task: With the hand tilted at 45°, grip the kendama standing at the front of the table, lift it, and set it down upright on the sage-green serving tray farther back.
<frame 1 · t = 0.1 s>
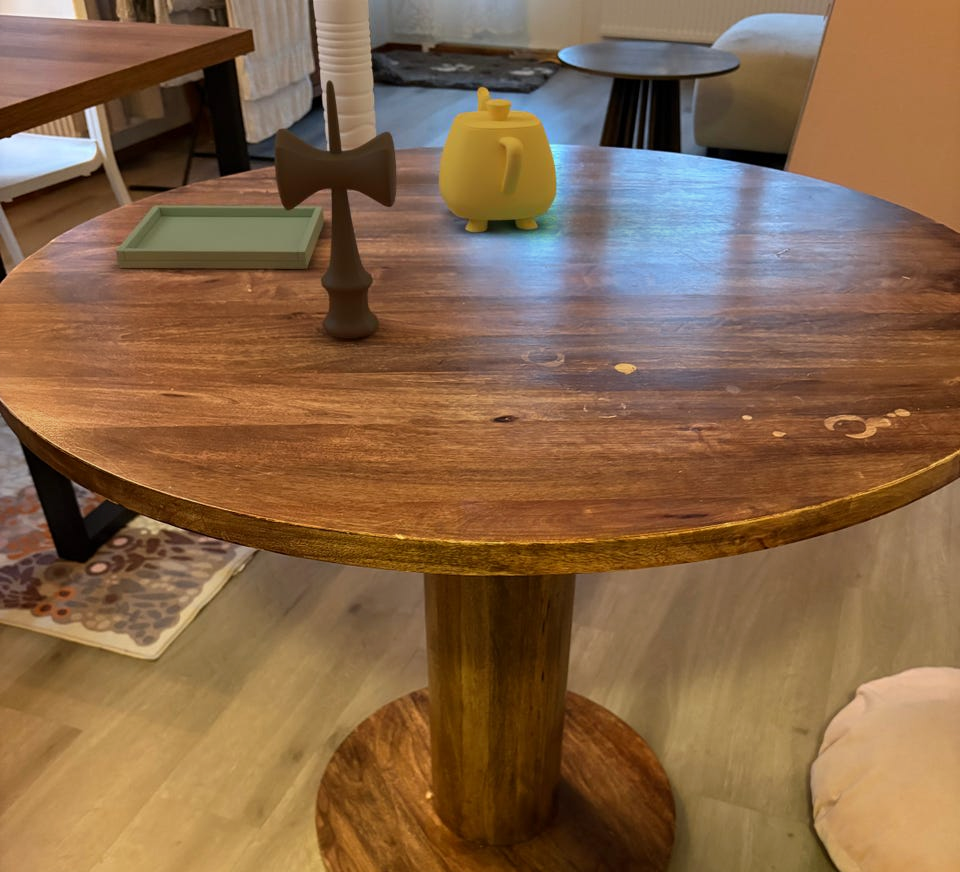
serving tray: (228, 243, 102), on the table
teapot: (495, 219, 110), on the table
kendama: (351, 334, 84), on the table
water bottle: (355, 185, 120), on the table
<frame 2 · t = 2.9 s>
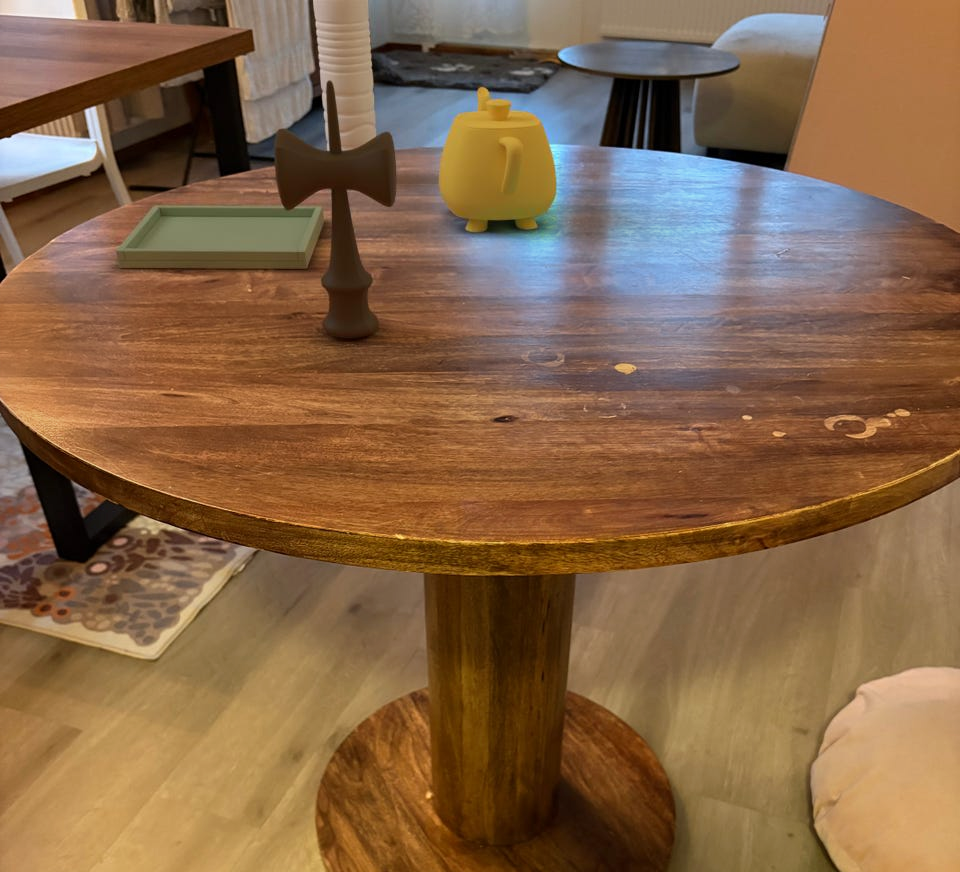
nothing on the table moved.
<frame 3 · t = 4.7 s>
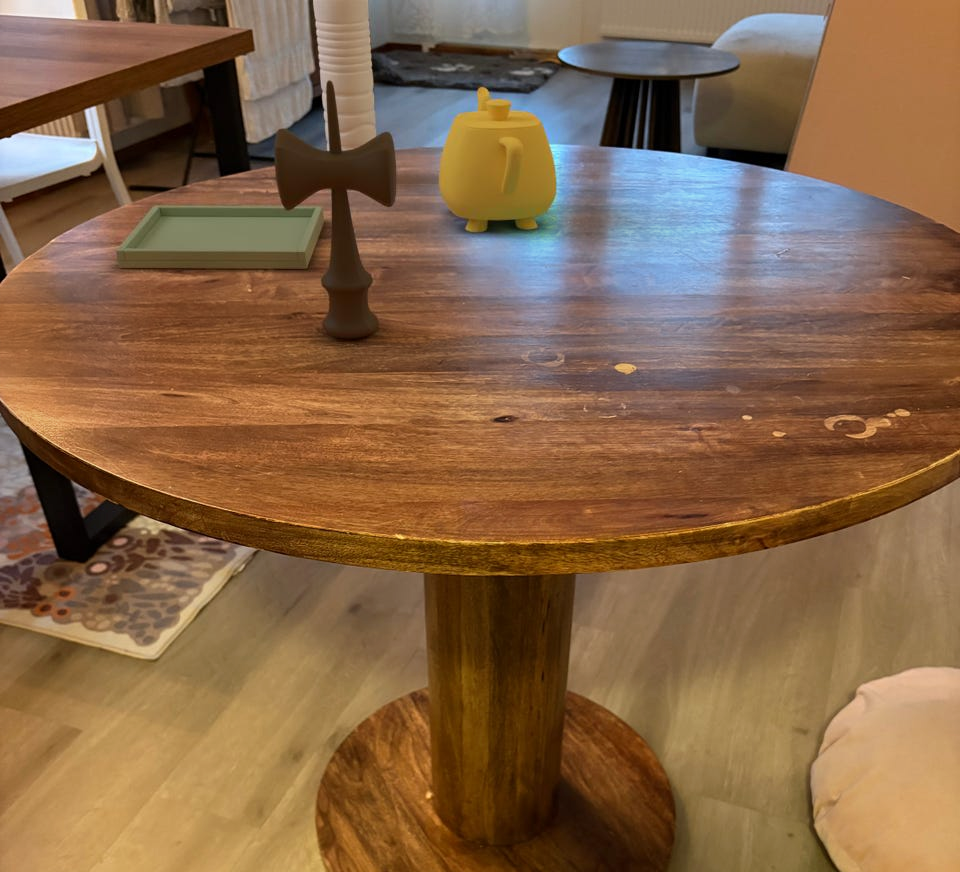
nothing on the table moved.
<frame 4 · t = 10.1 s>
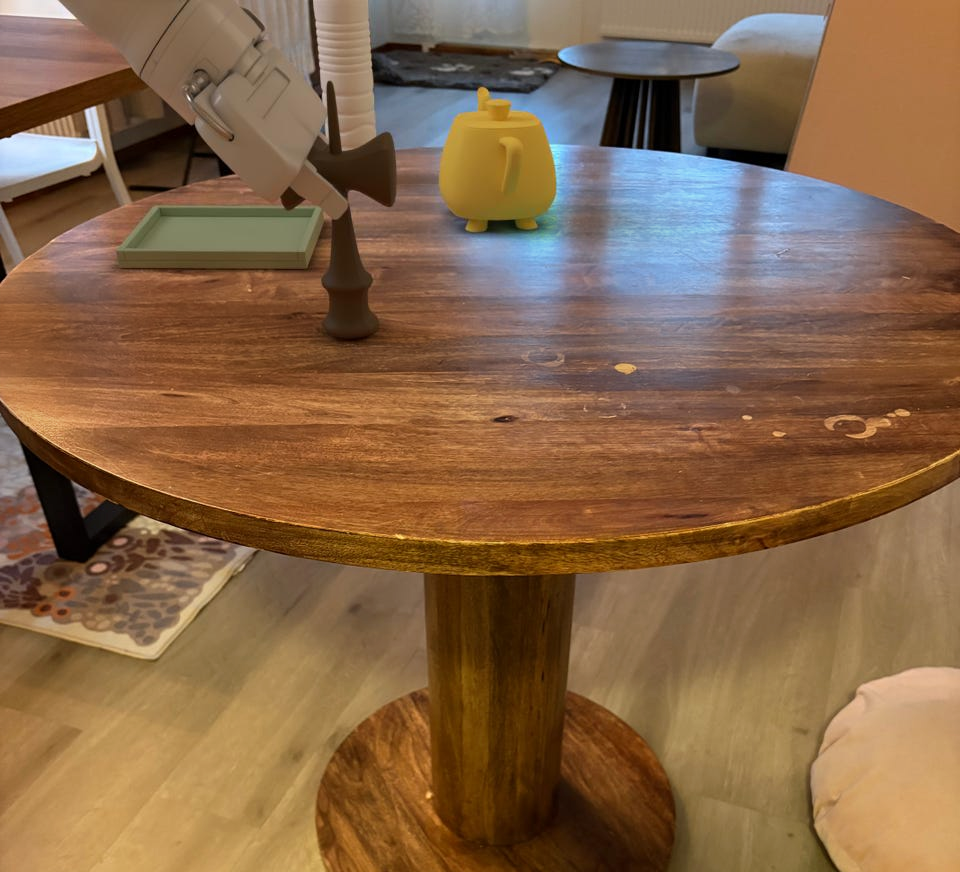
hand: (347, 199, 76), 11 cm above the table, tool tilted 45°, fingers closed on kendama, 5 cm apart
kendama: (351, 334, 84), on the table, touching gripper
everything else where it was.
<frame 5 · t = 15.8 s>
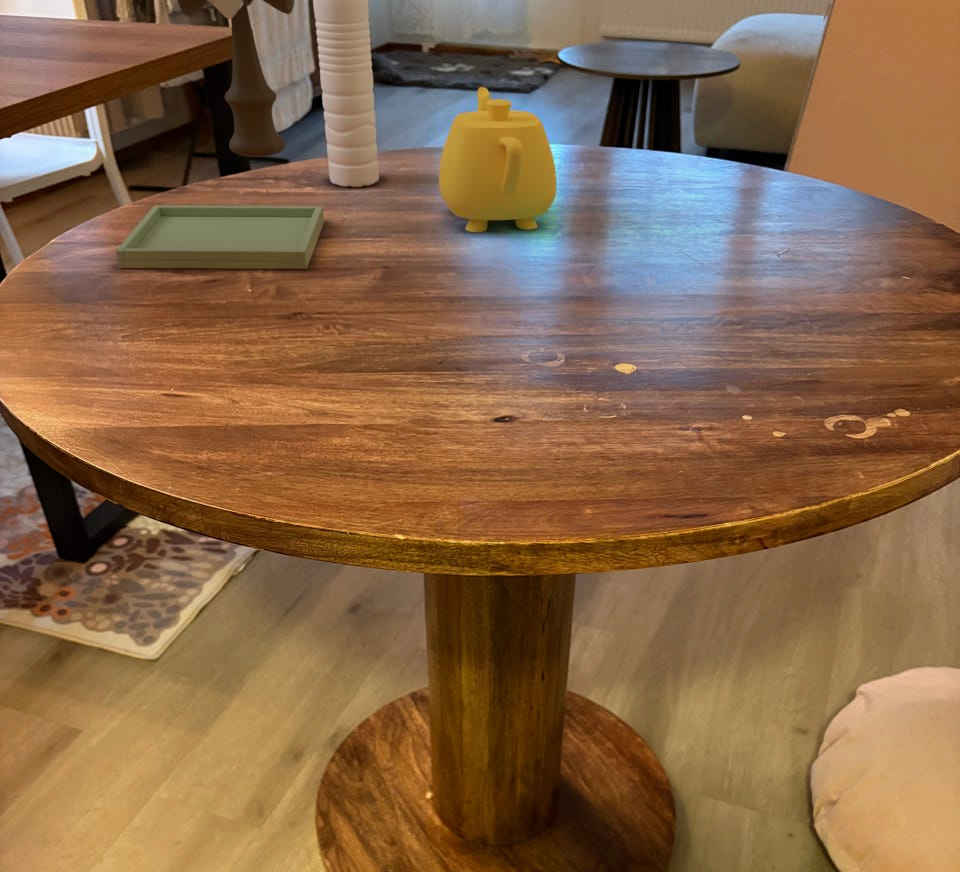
hand: (246, 5, 78), 23 cm above the table, tool tilted 45°, fingers closed on kendama, 5 cm apart
kendama: (258, 156, 85), point 12 cm above the table, touching gripper
everything else where it was.
when the fingers open (12 cm above the table, at t = 21.4 s): kendama stays where it is, resting on serving tray.
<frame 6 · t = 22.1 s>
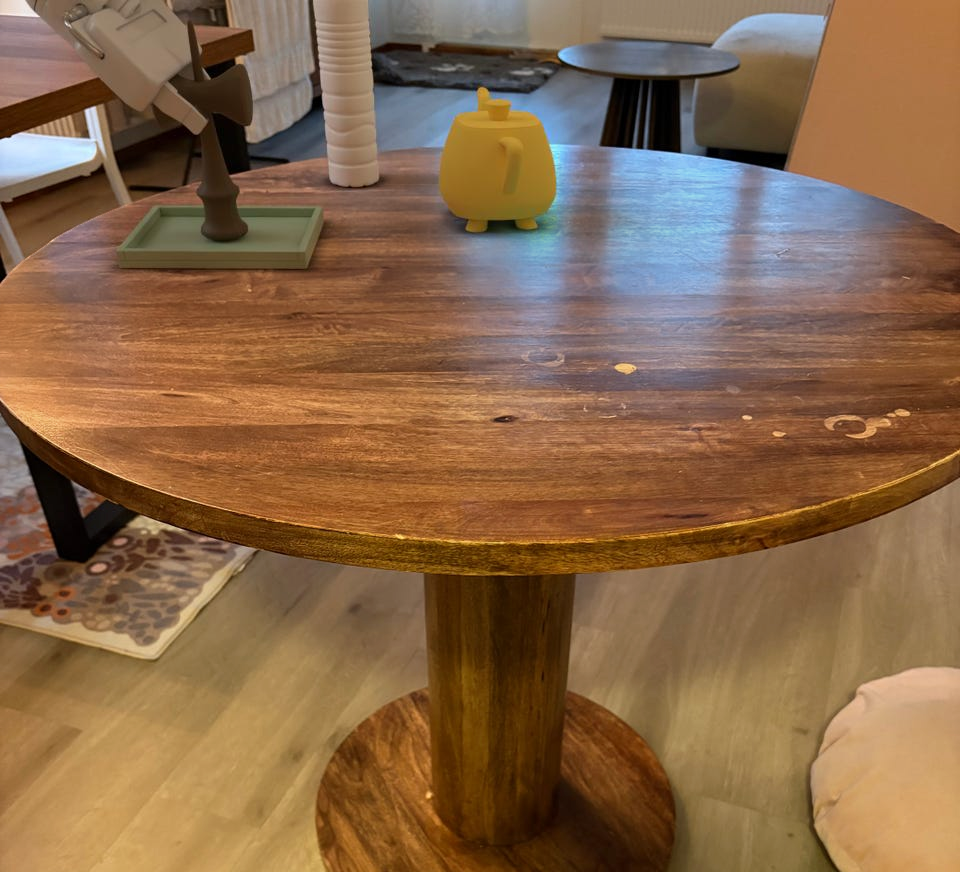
hand: (213, 117, 93), 12 cm above the table, tool tilted 45°, fingers open, 8 cm apart
kendama: (226, 238, 101), point 1 cm above the table, touching serving tray
everything else where it was.
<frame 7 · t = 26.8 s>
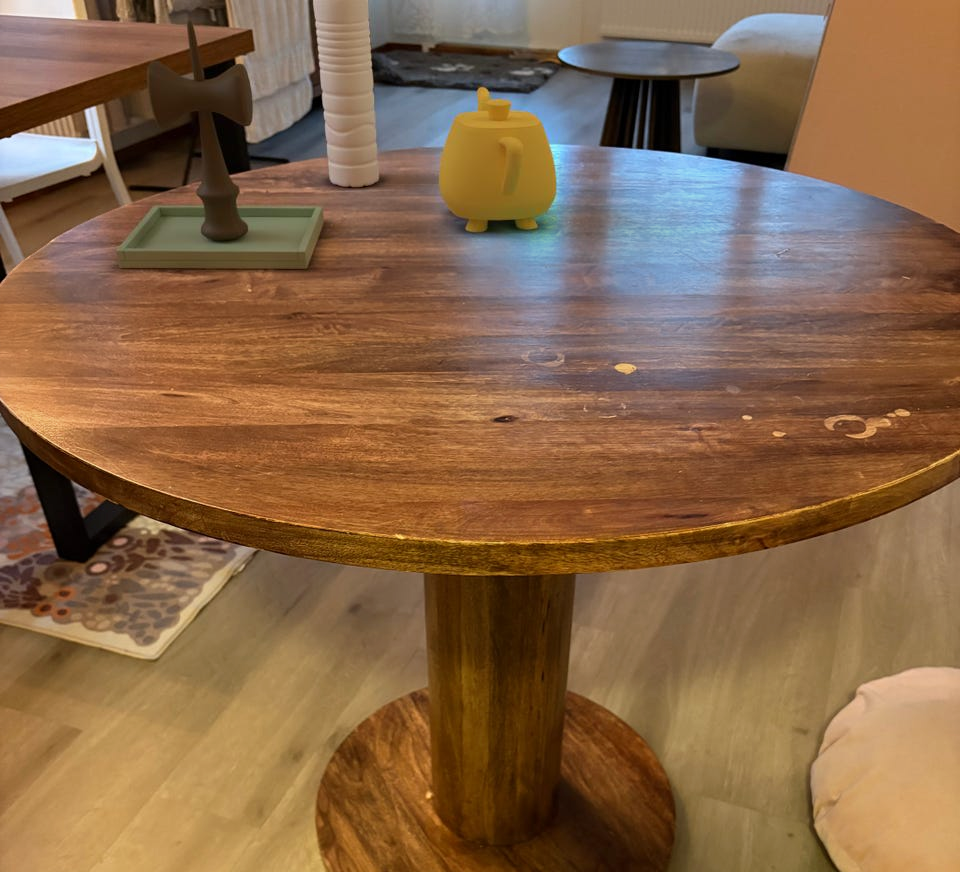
nothing on the table moved.
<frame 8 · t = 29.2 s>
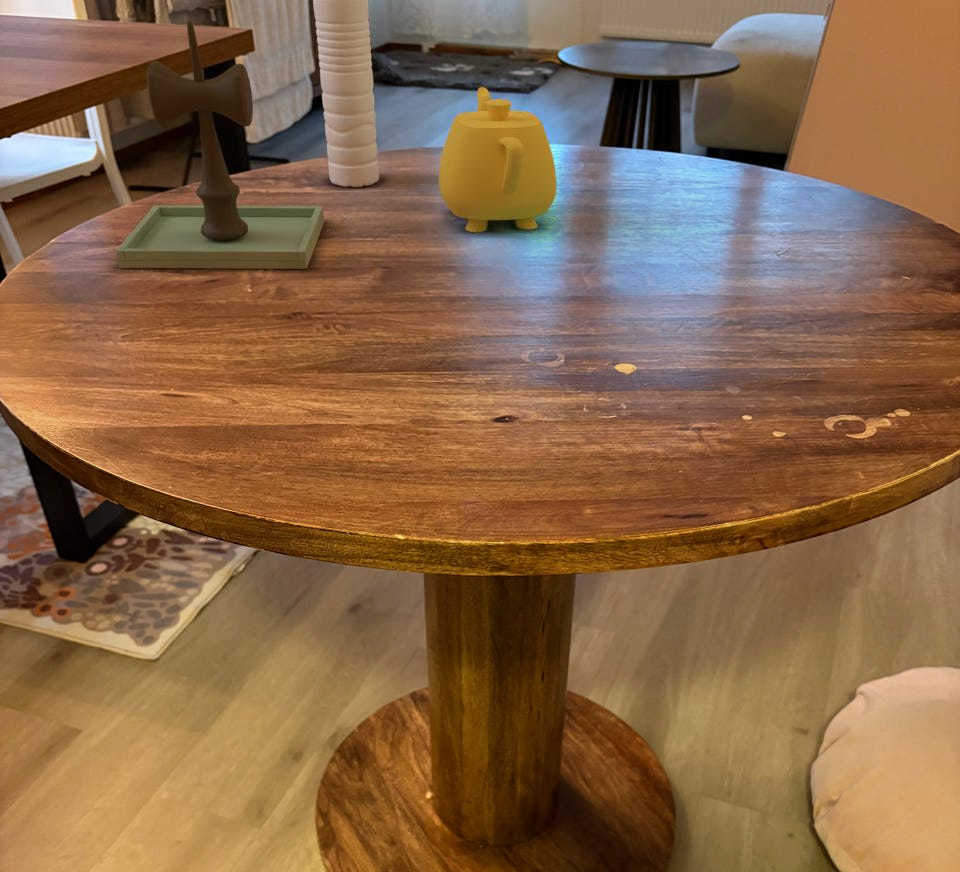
nothing on the table moved.
at the end: kendama inside the target area in the serving tray (0.1 cm from its centre), point 0.6 cm above the serving tray's base; kendama tilted 0°; the gripper is holding nothing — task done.
